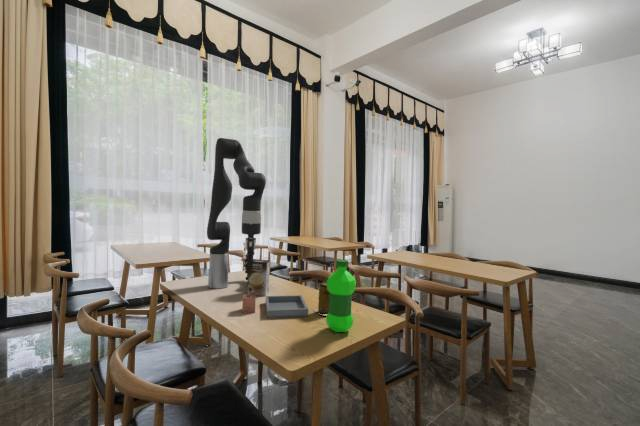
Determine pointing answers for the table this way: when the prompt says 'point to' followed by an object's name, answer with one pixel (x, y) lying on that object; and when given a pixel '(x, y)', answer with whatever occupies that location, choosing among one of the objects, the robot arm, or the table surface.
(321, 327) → the table surface
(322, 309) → the condiment
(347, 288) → the plastic bottle
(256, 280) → the coffee box
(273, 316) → the tray
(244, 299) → the red block
